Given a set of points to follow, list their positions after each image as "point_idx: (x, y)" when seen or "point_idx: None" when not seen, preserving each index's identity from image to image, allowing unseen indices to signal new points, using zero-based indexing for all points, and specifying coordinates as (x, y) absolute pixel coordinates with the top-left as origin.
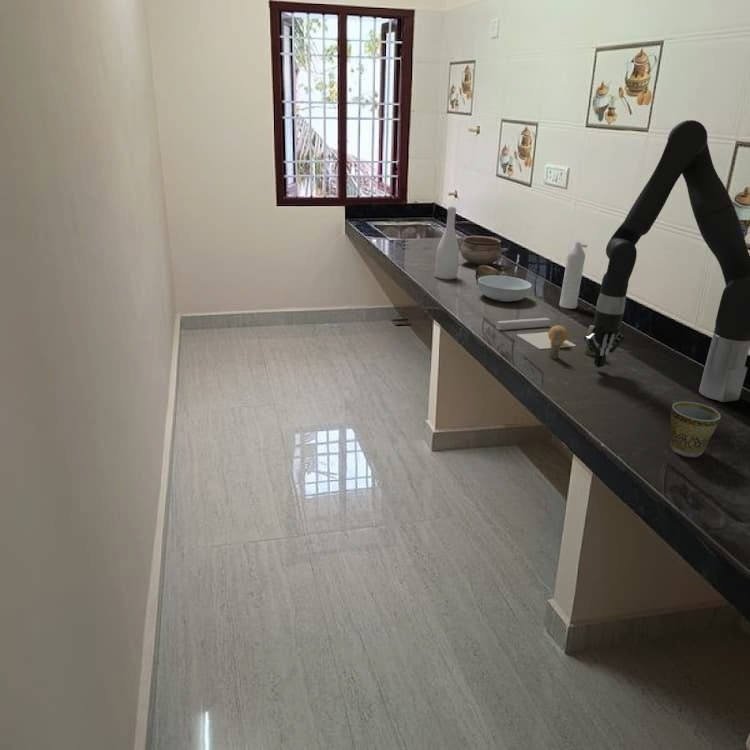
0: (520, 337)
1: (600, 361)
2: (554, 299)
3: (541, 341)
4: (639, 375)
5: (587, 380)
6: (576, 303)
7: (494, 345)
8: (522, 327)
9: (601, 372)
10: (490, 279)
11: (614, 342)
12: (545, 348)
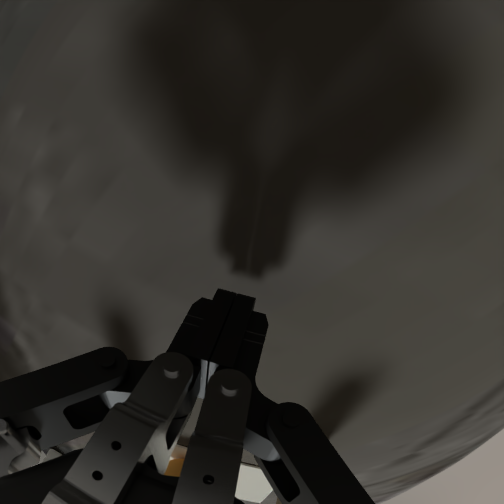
0: (264, 498)
1: (246, 329)
2: None
3: None
4: (51, 126)
5: (459, 222)
6: (49, 455)
7: (376, 498)
8: None
9: (239, 263)
10: None
11: (50, 420)
12: None
